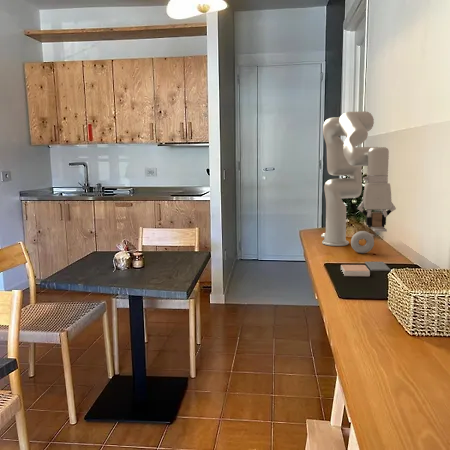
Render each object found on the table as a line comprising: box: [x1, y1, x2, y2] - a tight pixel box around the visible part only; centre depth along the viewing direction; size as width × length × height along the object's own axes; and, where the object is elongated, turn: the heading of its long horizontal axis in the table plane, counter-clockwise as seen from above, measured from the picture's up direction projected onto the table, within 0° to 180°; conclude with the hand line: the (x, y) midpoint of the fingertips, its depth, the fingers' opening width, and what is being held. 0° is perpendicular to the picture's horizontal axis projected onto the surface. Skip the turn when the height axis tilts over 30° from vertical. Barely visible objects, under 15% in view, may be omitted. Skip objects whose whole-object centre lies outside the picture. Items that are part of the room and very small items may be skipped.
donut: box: [350, 230, 375, 254], centre depth 198 cm, size 10×3×10 cm, turn 81°
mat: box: [364, 261, 392, 272], centre depth 175 cm, size 12×7×1 cm, turn 174°
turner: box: [370, 211, 388, 233], centre depth 172 cm, size 10×4×6 cm, turn 173°
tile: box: [340, 264, 371, 277], centre depth 168 cm, size 2×9×9 cm
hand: (375, 226), depth 176 cm, fingers closed on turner, 4 cm apart
